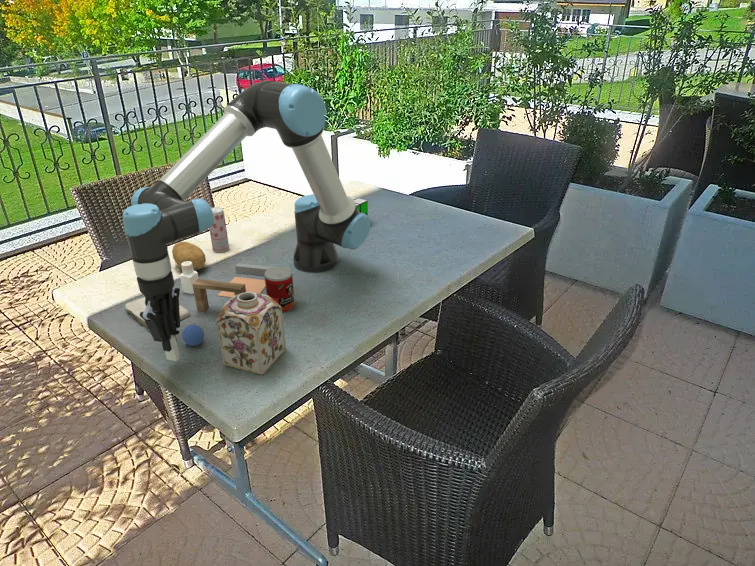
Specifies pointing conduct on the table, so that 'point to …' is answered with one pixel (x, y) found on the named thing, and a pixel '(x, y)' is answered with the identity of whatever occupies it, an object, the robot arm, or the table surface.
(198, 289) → the bridge
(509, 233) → the table surface
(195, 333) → the ball
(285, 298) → the canned food
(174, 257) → the potato
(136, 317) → the washcloth
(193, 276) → the salt shaker
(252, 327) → the decorative jar
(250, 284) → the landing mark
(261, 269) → the grey long bar
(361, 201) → the puzzle cube
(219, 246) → the beverage can
